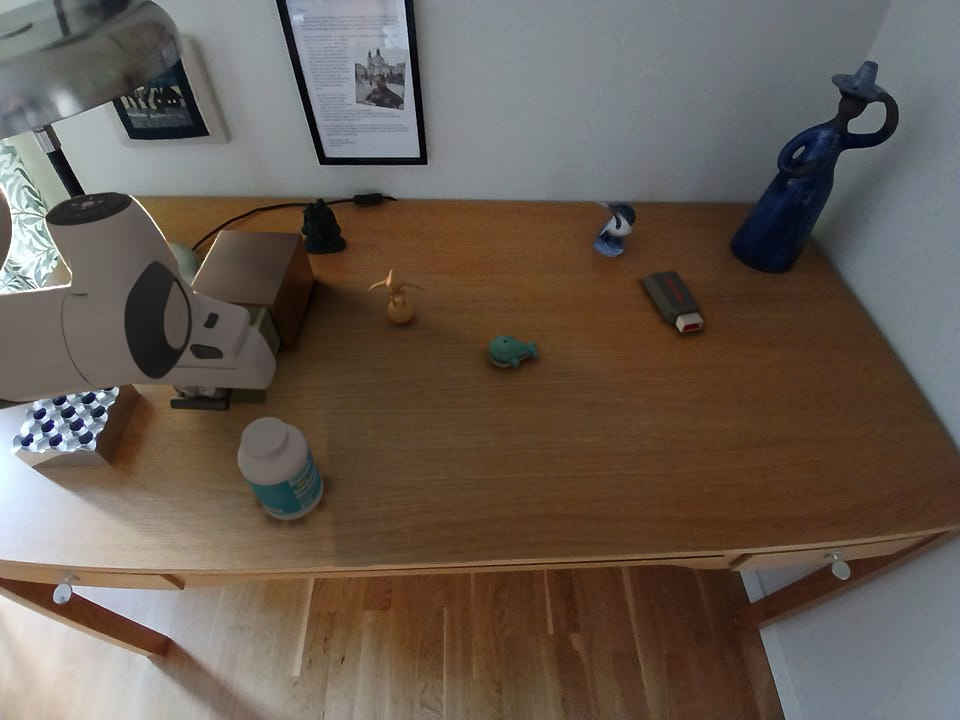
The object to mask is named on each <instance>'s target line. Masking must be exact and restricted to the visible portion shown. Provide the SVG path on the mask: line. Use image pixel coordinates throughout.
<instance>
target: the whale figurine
mask: <svg viewBox="0 0 960 720" xmlns="http://www.w3.org/2000/svg"><path fill="white" fill-rule="evenodd" d="M539 356H540V355H539V353H538V351H537V343H536V342H534V341H532V342H529V343H525V342H523V341H520V340H518V339H516V338H515V337H514V336H512V335H505V334H504V335H497V336H496V337H495V338H493V339H492V340H491V341H490V343H489V346H488V357H489V359H490V361H491V363H493V364H494V365H495V366H496V367H499V368H508V367H512V368H518V367H519V366H520V362H521V361H524V359H526V358H528V357H530V358H533V359H538V357H539Z"/></svg>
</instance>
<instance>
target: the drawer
mask: <svg viewBox="0 0 960 720" xmlns="http://www.w3.org/2000/svg"><path fill="white" fill-rule="evenodd" d="M244 308H245V309H247V310H248V312H249V314H250V317H251V318H250V322H249V326H252V327H253V328H255V329H256V330H258V331H259V332H260V334H261V335H262V336H263V338H264V339H265V341H266V343H267V344H268V346H269V348H270V350H271V352H272V354H273V356H274V359H275V360H276V356H277V354H278V350H279V349H278V348H279V345H280V342H281V339H282V338H281V336H280V333H279V331H278V328H277V326H276V323H275V321H274V318H273V316H272V313H271V311H270V308H265V307H244ZM172 388H173V389H174V390H175V392H176V393H177V394H176V395H174V396H172V397H171V398H170V400H169V406H170V408H171V409H173V410H190V411H191V410H193V411H215V412H216V411H217V412H229V411H230V409H231V406H232V403H234V404H257V405H265V404H266V401H267V399H268V397H267V394H266V392H265V389H242V388H219V389H220V391H221V396H220V398H207V397H191V396H190V395H187V394H186V393H184V392H182V391H180V390H178V389H177V388H175V387H174V386H172Z"/></svg>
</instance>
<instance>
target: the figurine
mask: <svg viewBox="0 0 960 720" xmlns="http://www.w3.org/2000/svg"><path fill="white" fill-rule="evenodd" d="M403 286H407V287H410V288H416V289H417V290H422V291H423V292H426V289H425V288H424V287H422V286H421V285H419V284H417V283H414V282H412V281H407V280H405V279H403V278H401V277H400V275H399V274H398V271H397V269H395V268H392V269H391V270H390V272H389V275H388V277H387V278H386V279H384V280H382V281H381V282H377V283H375V284H373V285H372V286H371V287H369V289H368V292H367V293H368V294H370V293H371V292H372V291H374V290H376V289H378V288H381V287H386V293H387V295H388V296H389V297H390V299H389V300H390V302H389V304H388V307H387V314H388V317H389V318H390V320H391V321H392V322H394V323H396V324H405V323H408V322H410V321H411V320H412V319H413V316H414V313H415V312H414V311H415V309H414V306H413V305H414V304H413V303H412V302H411V301H410V300H409V299H408V298H407V296H406V295H407V290H406V288H405V287H403ZM399 295H400V296H401V297H397V298H396V297H395V296H399Z"/></svg>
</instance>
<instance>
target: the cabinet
mask: <svg viewBox="0 0 960 720" xmlns="http://www.w3.org/2000/svg"><path fill="white" fill-rule="evenodd" d="M216 237H217V238H215V241H214V243H213V244H212V246H211V248H210V249H209V252H208V253H207V255H206V257H205V258H204V259H205V260H204V261H203V263H202V265H201V266H200V269H199V270H198V272H197V274H196V275H195V277H194V279H193V281H192V283H191V285H190V286H191V288H192V289H193V291H194V292H197V293H200V294H202V295H205V296H207V297H210V298H213V299H216V300H219V301H222V302H226V303H230V304H234V305H238V306H241V307H265V308H270V311H271V313H272V316H273V318H274V321H275V323H276V326H277V328H278V331H279V333H280V336H281V338H282V339H281V342H280V345H279V348H278V350H292V347H293V344H294V342H295V338H296V335H297V333H298V330H299V326H300V323H301V321H302V318H303V314H304V311H305V309H306V306H307V303H308V300H309V297H310V294H311V291H312V288H313V285H314V282H315V280H316V279H315V276H314V272H313V268H312V265H311V261H310V258H309V255H308V251H307V248H306V245H305V241H304V238H303V234H302V233H301V232H280V231H279V232H277V231H253V230H252V231H249V230H247V231H246V230H222V229H221V230H220V231H219V233H218V235H217V236H216Z"/></svg>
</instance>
